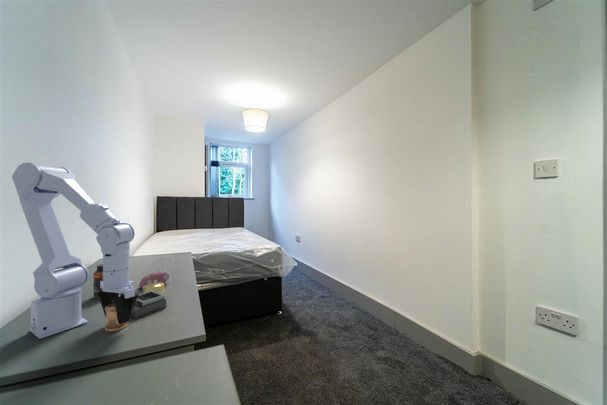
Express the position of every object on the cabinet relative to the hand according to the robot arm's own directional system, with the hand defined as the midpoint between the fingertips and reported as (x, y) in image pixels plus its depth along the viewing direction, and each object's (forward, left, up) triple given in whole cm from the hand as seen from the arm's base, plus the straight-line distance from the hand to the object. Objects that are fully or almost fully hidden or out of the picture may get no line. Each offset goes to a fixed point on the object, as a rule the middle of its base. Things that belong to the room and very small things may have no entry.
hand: (116, 318), depth 66 cm
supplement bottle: (+8, +28, -2) cm, 29 cm away
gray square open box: (+9, +5, -2) cm, 11 cm away
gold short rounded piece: (+17, +13, -2) cm, 22 cm away
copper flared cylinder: (0, 0, -2) cm, 2 cm away
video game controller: (+23, +24, -3) cm, 33 cm away
